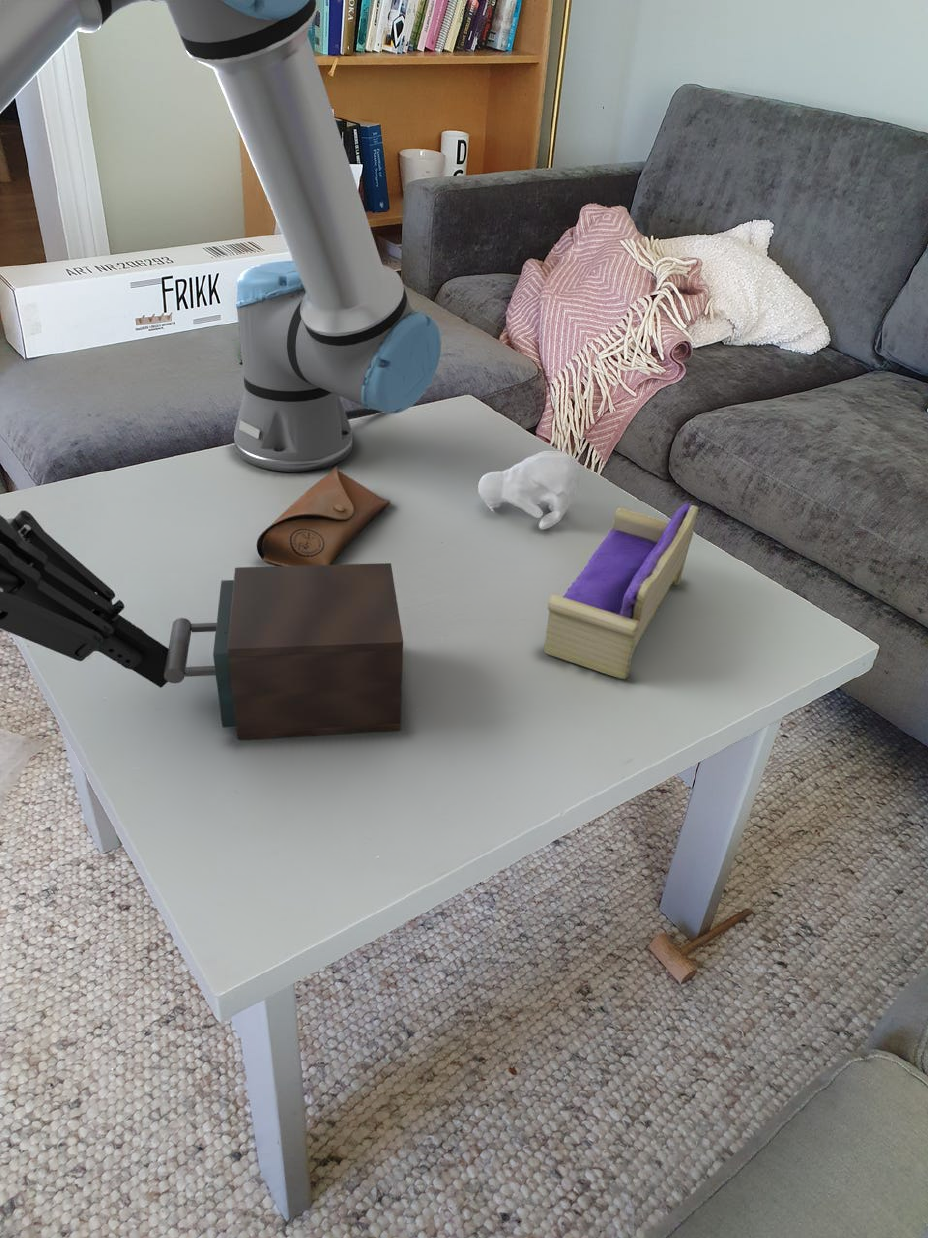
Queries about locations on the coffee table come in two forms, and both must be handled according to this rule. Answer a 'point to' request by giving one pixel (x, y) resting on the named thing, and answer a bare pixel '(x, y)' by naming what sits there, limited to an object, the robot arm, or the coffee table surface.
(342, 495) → the sunglasses case
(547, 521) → the white figurine
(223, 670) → the drawer
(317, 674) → the cabinet
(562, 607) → the toy sofa
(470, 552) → the coffee table surface
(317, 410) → the robot arm
